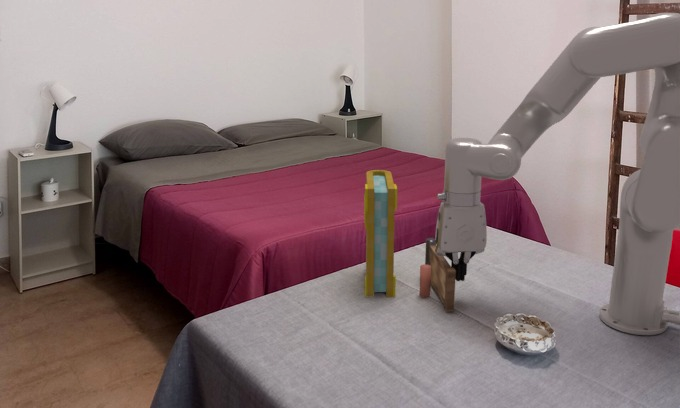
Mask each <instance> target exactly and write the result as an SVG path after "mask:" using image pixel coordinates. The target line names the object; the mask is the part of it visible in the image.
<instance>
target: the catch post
mask: <svg viewBox="0 0 680 408" xmlns="http://www.w3.org/2000/svg"><path fill="white" fill-rule="evenodd" d="M431 286H432V284H431V266H430V265H426V264H425V263H424V264H421V265H420V266H419V291H418V292H419V295H418V296H419V297H421V298H423V299H428V298H430V297H431V288H432V287H431Z"/></svg>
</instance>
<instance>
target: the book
mask: <svg viewBox="0 0 680 408" xmlns="http://www.w3.org/2000/svg"><path fill="white" fill-rule="evenodd" d="M365 173H366V175H365V176H366V177H365V178H366V179H365V181H366V183H365V184H364V192H365V193H363V194H364V195H363V197H364V201H363V203H364V204H363V211H364V212H363V213H364V229H365V231H366V232H365V240H366V241H365V275H364V297H365V298H373V297H375V293H377V292H378V293H386V294H385V295H386V298H396V282H397V281H396V275H395V274H394V272H395V271H394V265H395V264H394V263H395V259H394V258H395V214H396V213H395V211H397V210H398V186H397V184H396V183H394V179H393V175H392V172H391V171H388V170H385V169H373V170H372V169H371V170H368V171H366V172H365Z"/></svg>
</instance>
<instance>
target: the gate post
mask: <svg viewBox="0 0 680 408" xmlns="http://www.w3.org/2000/svg"><path fill="white" fill-rule="evenodd" d="M431 245H437V244H436V241H435V238H434V237H428V238H425V257H424V259H425V260H424V264H426V265H430V246H431Z"/></svg>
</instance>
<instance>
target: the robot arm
mask: <svg viewBox="0 0 680 408" xmlns="http://www.w3.org/2000/svg"><path fill="white" fill-rule="evenodd" d="M653 69H654V75H655V76H654V77H655V78H654V86H653V90H652V94H651V100H650V103H649V106H648V109H647V113H646V117H645V121H644V123H643V127H642V130H641V133H640V135H639V140H638V141H639V148H640V150H641V153H642V154H643V159H642V163H641V167H640V168H639V169H637V170H635V171H634V172H633V173H631V174H630V175H629V176H628V177H627V178H626V180H625V182H624V183H623V186H622V189H621V195H620V200H619V201H620V202H619V203H620V204H619V205H620V206H619V219H618V222H619V223H618V231H617V233H618V234H617V240H616V246H615V247H616V248H615V253H614V261H613V262H614V263H613V271H612V279H611V286H610V292H609V293H610V294H609V302H608V303H605V304H604V305H603V306H601V307H600V310H599V318H600V320H601V321H602V322H603V323H604V324H605V325H607V326H608V327H610V328H613V329H615V330H617V331H620V332H622V333H626V334H630V335H636V336H637V335H638V336H639V335H640V336H655V335H659V334H662V333H664V332H666V330H667V329H668V325H669V323H670V324H674V325H677V326H680V311H679V310H672V309H668V308H667V307H665V300H664V294H665V287H666V281H667V273H668V267H669V262H670V254H671V250H672V243H673V242H672V241H673V235H674V230H676V229H677V228H679V227H680V13H678V12H658V13H655V14H653V15H650V16H648V17H646V18H642V19H636V20H632V21H629V22H623V23H620V24H619V23H618V24H614V25H606V26H591V27H587V28H585V29H583V30H580V32H578V33H577V34H576V35H575V36H574V37H573V38H572V39H571V40H570V41H569V42H568V44H567V45H566V47H565V48H564V49H563V50H562V51H561V53H560V54H559V55H558V56H557V57H556V59H555V60H554V61H553V62H552V64H551V65H550V66H549V67H548V68H547V70H545V72H544V74H543V75H542V76H541V77H540V78H539V80H537V82H536V83H535V84H534V85H533V87H532V88H531V89H530V91H528V92H527V94H526V95H525V97H524V98H523V100H522V102H521V103H520V104H519V105H518V106H517V107H516V108H515V110H513V112H512V114H511V115H510V116H509V117H508V118H507V119H506V121H505V122H504V123H503V124H502V126H500V127H499V129H498V130H497V131H496V132H495V134H494V135H493V136H492V137H491V138H490V140H489V141H488V143H482V141H480V140H478V139H477V138H471V137H455V138H451V139H450V140H448V141H447V142H446V144H445V151H444V152H445V155H444V156H445V157H444V158H445V159H444V182H443V183H444V184H443V185H444V187H443V189H442V192H440V193H437V195H436V196H437V197H436V198H437V200H438V201H442V202H441V203H440V206H439V210H438V213H437V219H436V226H435V238H434V239H435V241H436V249H435V253H436V254H437V255H439V256H444V257H446V258H448V259H449V260H450V262H451V264H450V266H451V267H452V268H454V269H455V270H456V277H455V282H460V281H461V282H464V281H465V277H466V276H467V274H468V273H467V271H468V270H467V269H468V264H469V263H470V261H471V259H472V258H473V257H474V256H475V255H478V254H481V253H484V252H485V248H486V247H487V240H488V239H487V238H488V236H487V218H486V217H487V216H486V208H485V204H484V203H483V202H481V195H482V194H481V193H482V192H481V191H482V178H486V179H491V180H495V181H496V180H497V181H505V180H509V179H512V178H513V177H514V176H516V175H517V174H518V172H519V171H520V168H521V164H522V158H523V157H524V155H525V154H526V153H527V152H528V151H529V150H530V149H531V148H532V146H533V145H534V144H535V142H537V140H538V139H539V138H540V137H542V135H543V134H544V133H545V132H546V131H547V130H549V128H552V126H554V125H555V124H557V123H560V122H561V121H563V120H564V119H565V118H566V117H567V116H569V114H570V113H571V112H572V111H573V110H574V109H575V107H577V105H578V104H579V103H580V101H581V100H582V99H583V98H584V97H585V96H586V95H587V94H588V92H589V91H590V90H591V89H592V88H593V87H594V86H595V85H596V83H597V82H598V81H599V80H600V79H601V78H605V77H606V78H607V77H612V76H618V75H619V76H620V75H625V74H626V75H627V74H631V73H636V72H640V71H646V70H647V71H649V70H653ZM459 253H460V254H459Z"/></svg>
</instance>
